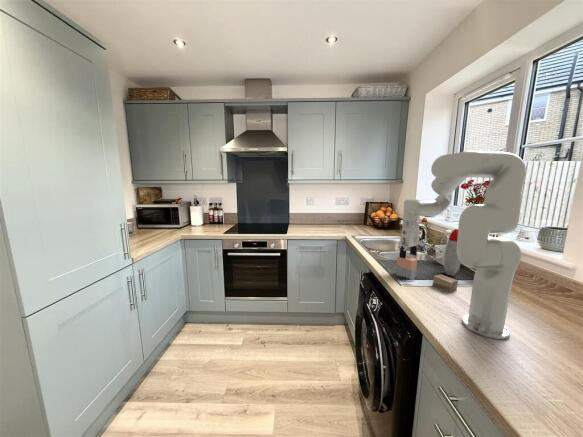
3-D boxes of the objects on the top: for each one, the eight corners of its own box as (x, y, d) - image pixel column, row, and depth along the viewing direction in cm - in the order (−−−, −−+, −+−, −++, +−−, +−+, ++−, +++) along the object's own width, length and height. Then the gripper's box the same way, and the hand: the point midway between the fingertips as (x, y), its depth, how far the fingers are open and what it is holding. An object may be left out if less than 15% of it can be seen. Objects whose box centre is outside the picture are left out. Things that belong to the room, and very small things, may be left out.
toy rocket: (463, 277, 122) (470, 230, 118) (447, 276, 123) (453, 230, 119) (454, 271, 130) (460, 227, 126) (439, 271, 130) (444, 227, 126)
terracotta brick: (410, 270, 118) (411, 260, 117) (396, 265, 125) (397, 256, 124) (416, 268, 121) (417, 259, 120) (402, 263, 128) (403, 254, 127)
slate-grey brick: (411, 279, 119) (412, 270, 118) (395, 274, 125) (396, 265, 124) (415, 277, 122) (416, 267, 122) (400, 272, 128) (400, 263, 127)
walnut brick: (449, 293, 105) (451, 282, 105) (432, 285, 113) (433, 275, 112) (456, 290, 107) (457, 280, 107) (439, 283, 115) (440, 274, 114)
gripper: (408, 226, 111) (405, 261, 114) (427, 223, 121) (424, 255, 123) (393, 224, 117) (391, 257, 120) (412, 221, 127) (410, 252, 129)
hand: (407, 256), depth 121 cm, fingers open, 9 cm apart
